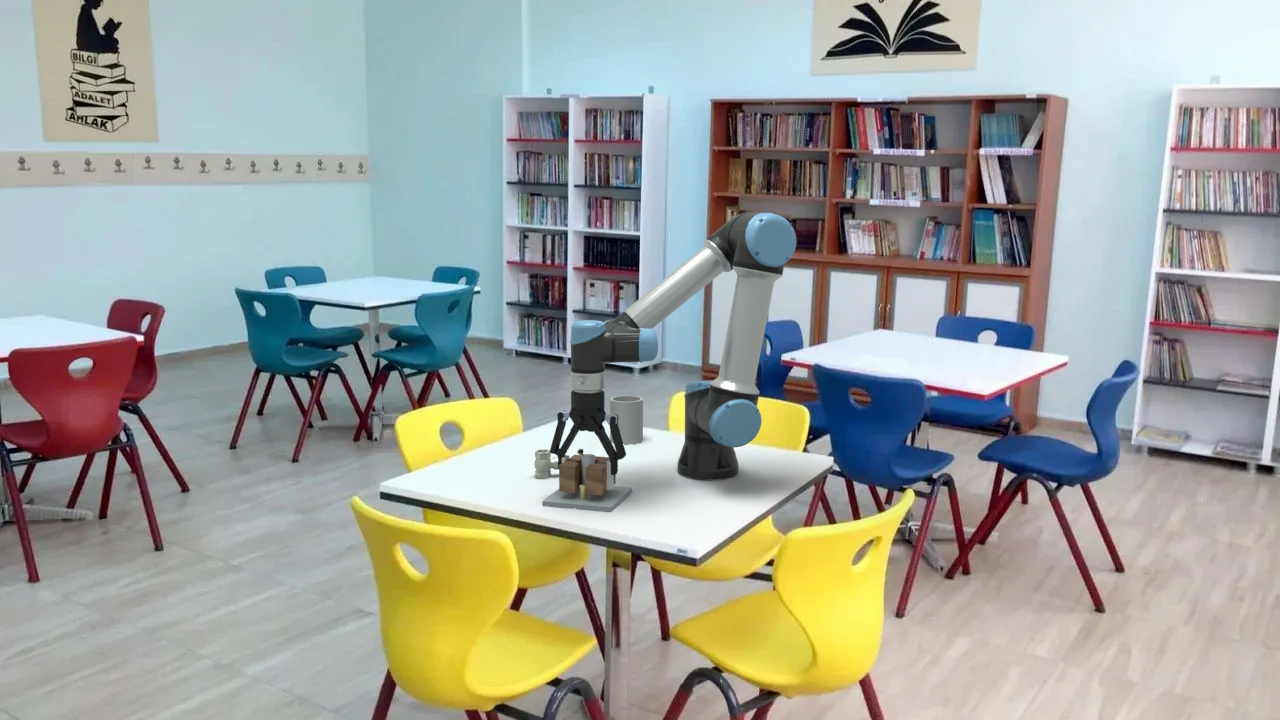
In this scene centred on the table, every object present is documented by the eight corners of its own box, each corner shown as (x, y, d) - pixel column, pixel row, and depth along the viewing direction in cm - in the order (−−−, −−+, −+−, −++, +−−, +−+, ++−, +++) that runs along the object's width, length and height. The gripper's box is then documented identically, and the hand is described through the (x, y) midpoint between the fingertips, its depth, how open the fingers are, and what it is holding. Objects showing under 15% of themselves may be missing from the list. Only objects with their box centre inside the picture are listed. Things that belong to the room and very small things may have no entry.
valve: (536, 481, 249) (585, 478, 251) (535, 454, 247) (585, 452, 250) (533, 474, 255) (580, 471, 257) (532, 448, 254) (580, 445, 256)
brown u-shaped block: (574, 479, 240) (574, 454, 239) (615, 483, 237) (615, 457, 236) (559, 491, 231) (559, 465, 230) (601, 495, 228) (601, 468, 227)
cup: (607, 444, 284) (607, 401, 283) (613, 436, 293) (613, 395, 291) (640, 445, 283) (640, 402, 281) (645, 437, 292) (645, 396, 290)
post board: (632, 491, 240) (632, 449, 238) (610, 512, 225) (610, 467, 223) (567, 485, 244) (567, 444, 243) (542, 505, 229) (541, 461, 227)
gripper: (534, 389, 230) (535, 486, 234) (631, 396, 224) (630, 495, 227) (546, 383, 237) (547, 477, 241) (641, 390, 231) (640, 486, 234)
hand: (587, 486), depth 234 cm, fingers closed on brown u-shaped block, 10 cm apart
